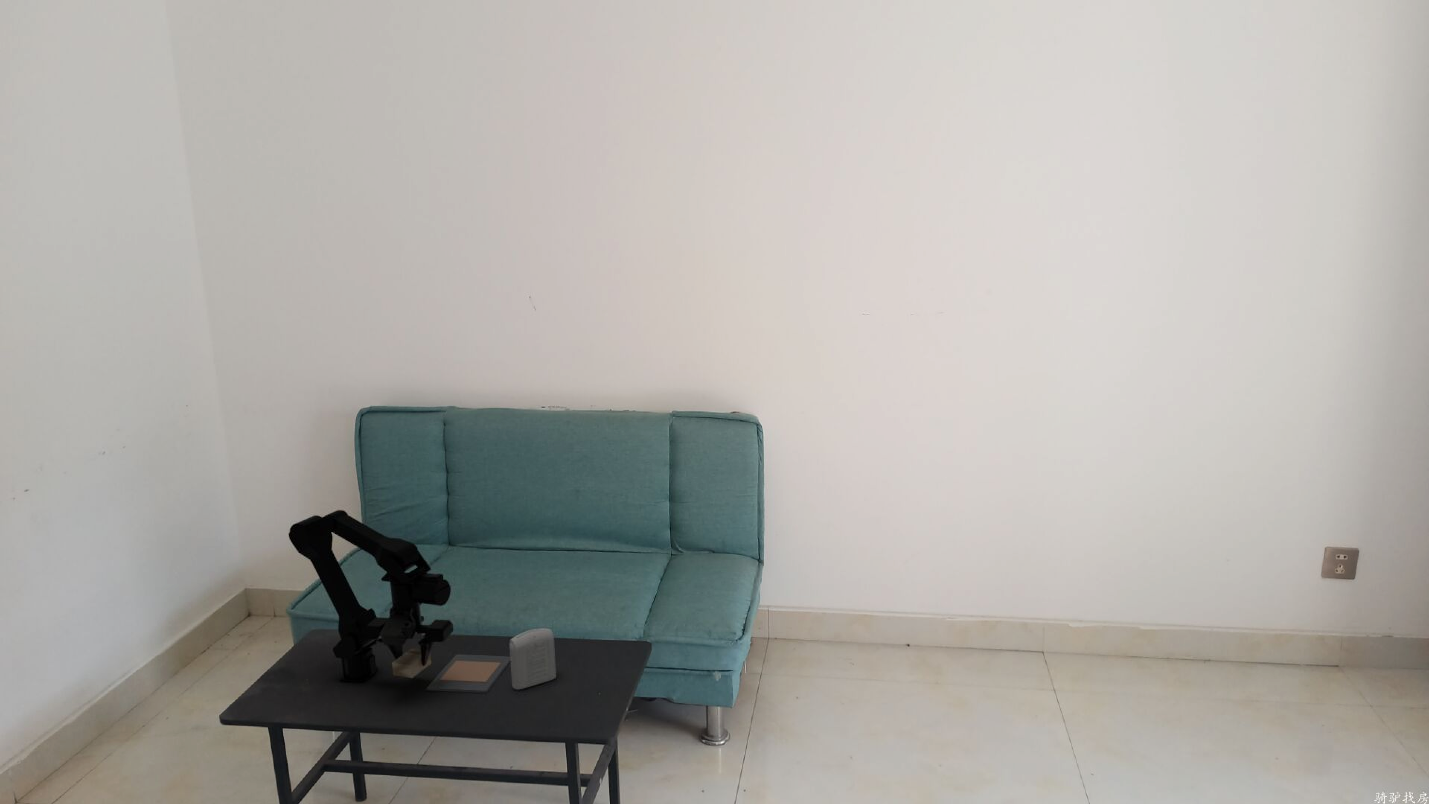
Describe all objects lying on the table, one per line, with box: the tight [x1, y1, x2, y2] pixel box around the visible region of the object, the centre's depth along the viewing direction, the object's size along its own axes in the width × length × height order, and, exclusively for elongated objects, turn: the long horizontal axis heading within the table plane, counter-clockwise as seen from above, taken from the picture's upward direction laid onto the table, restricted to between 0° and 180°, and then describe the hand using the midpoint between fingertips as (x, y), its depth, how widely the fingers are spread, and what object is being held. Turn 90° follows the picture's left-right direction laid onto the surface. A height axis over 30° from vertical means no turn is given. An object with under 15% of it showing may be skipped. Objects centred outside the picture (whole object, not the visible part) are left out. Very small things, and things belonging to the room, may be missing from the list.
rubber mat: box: [426, 654, 511, 694], centre depth 216 cm, size 14×16×1 cm
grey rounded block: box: [508, 627, 557, 691], centre depth 210 cm, size 10×4×12 cm, turn 123°
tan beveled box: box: [391, 648, 432, 679], centre depth 211 cm, size 5×7×3 cm
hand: (412, 664), depth 211 cm, fingers closed on tan beveled box, 5 cm apart
